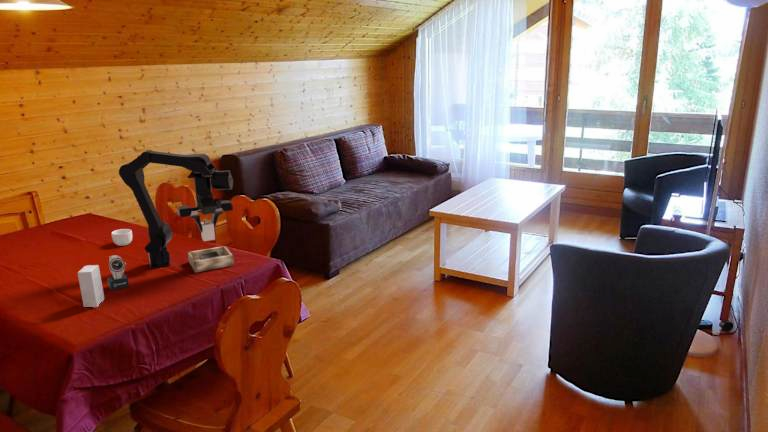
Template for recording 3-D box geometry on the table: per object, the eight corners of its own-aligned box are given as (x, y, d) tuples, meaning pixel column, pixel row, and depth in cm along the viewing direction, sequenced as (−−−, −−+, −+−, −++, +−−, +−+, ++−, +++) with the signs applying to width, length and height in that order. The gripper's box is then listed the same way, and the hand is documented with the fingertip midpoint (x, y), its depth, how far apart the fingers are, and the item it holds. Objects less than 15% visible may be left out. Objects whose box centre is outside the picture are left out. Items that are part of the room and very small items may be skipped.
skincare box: (91, 300, 181) (85, 265, 177) (104, 299, 181) (99, 264, 178) (83, 308, 175) (76, 272, 171) (97, 307, 175) (91, 271, 172)
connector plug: (203, 241, 205) (201, 221, 203) (201, 238, 208) (199, 218, 206) (215, 239, 207) (213, 219, 205) (212, 236, 210) (210, 217, 208)
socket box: (195, 272, 202) (193, 262, 201) (188, 262, 212) (187, 252, 211) (233, 265, 209) (233, 255, 208) (226, 255, 219) (225, 245, 218)
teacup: (136, 243, 234) (135, 231, 232) (118, 248, 229) (116, 235, 227) (126, 238, 240) (124, 226, 239) (107, 243, 235) (105, 230, 234)
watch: (112, 292, 186) (107, 261, 183) (107, 285, 192) (102, 254, 189) (130, 288, 189) (126, 257, 186) (124, 281, 196) (120, 251, 192)
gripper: (180, 197, 191) (185, 241, 196) (235, 191, 200) (238, 232, 204) (174, 191, 201) (179, 232, 205) (227, 184, 209) (231, 225, 214)
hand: (207, 230), depth 207 cm, fingers closed on connector plug, 4 cm apart
